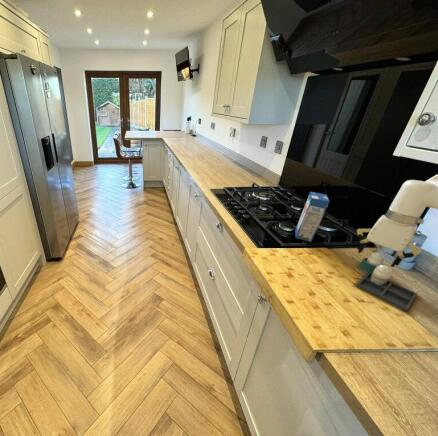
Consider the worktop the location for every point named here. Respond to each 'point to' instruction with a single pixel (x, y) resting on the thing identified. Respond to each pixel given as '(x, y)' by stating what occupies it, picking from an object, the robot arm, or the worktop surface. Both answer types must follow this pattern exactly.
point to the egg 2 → (381, 274)
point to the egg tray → (388, 292)
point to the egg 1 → (375, 259)
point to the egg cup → (367, 266)
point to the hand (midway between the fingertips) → (375, 258)
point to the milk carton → (311, 216)
